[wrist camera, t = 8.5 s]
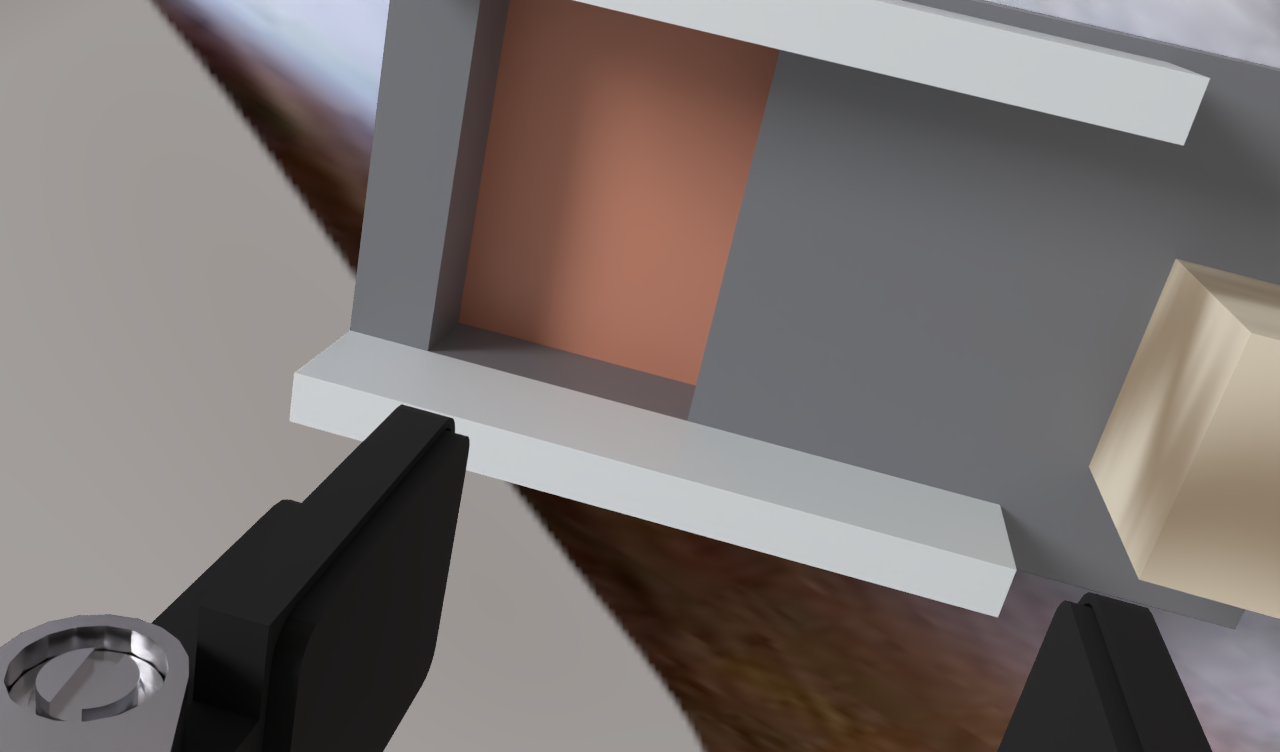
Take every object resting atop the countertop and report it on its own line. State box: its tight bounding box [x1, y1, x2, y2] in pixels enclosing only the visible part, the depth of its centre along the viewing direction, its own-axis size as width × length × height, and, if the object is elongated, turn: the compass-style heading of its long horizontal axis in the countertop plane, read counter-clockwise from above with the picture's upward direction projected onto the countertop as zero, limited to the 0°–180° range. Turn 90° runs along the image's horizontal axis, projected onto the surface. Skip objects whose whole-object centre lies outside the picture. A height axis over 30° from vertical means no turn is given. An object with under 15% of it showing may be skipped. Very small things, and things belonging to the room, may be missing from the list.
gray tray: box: [290, 0, 1280, 629], centre depth 25 cm, size 22×12×6 cm, turn 77°
